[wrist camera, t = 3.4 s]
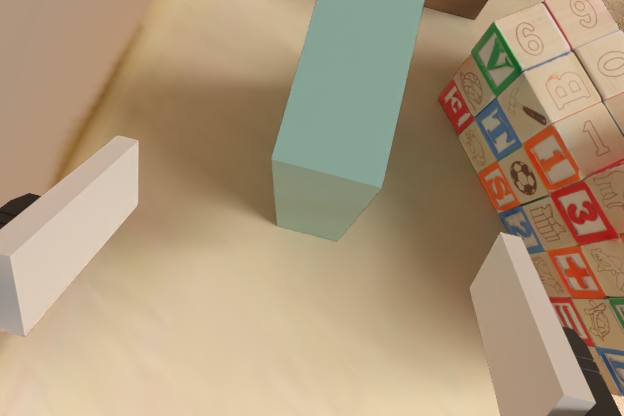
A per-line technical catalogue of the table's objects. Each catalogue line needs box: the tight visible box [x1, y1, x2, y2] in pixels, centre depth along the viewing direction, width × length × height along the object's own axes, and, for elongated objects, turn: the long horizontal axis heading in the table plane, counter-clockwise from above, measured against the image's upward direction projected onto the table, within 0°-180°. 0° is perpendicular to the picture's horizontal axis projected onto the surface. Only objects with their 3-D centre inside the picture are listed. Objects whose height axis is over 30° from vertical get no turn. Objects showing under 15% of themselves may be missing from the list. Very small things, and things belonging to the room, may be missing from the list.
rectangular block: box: [271, 0, 425, 242], centre depth 24 cm, size 4×10×14 cm, turn 166°
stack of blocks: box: [439, 0, 624, 396], centre depth 25 cm, size 21×6×12 cm, turn 24°
